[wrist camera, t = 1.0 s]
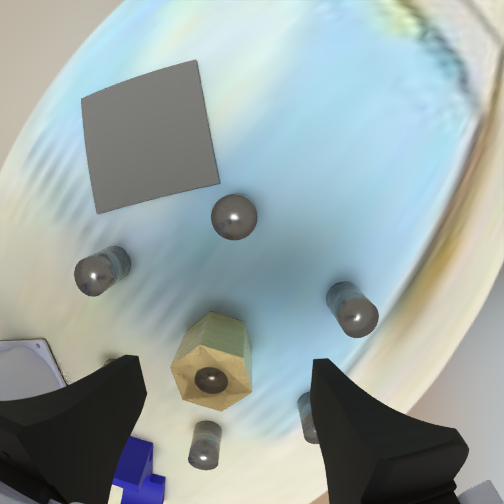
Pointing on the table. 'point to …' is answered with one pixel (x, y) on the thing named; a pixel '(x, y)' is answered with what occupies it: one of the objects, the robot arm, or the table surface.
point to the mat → (148, 138)
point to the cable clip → (138, 474)
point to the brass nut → (214, 362)
